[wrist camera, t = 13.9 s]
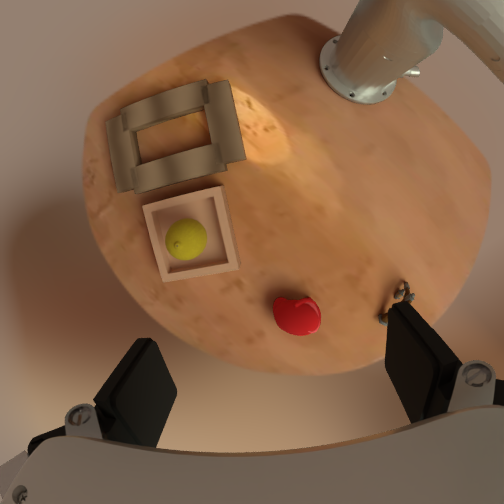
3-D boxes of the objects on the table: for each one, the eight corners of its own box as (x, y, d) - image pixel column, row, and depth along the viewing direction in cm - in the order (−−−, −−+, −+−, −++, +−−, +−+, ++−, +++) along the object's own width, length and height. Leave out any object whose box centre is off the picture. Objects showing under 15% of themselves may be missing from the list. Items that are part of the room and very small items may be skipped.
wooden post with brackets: (413, 280, 41) (418, 299, 37) (384, 308, 46) (386, 327, 42) (406, 276, 41) (411, 295, 37) (377, 304, 46) (379, 323, 42)
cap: (332, 302, 40) (305, 298, 37) (323, 340, 39) (295, 340, 36) (297, 293, 47) (270, 288, 43) (289, 327, 46) (261, 325, 43)
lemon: (212, 215, 40) (199, 224, 32) (211, 252, 41) (199, 269, 33) (176, 214, 40) (155, 222, 32) (176, 250, 41) (157, 266, 34)
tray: (223, 185, 39) (220, 185, 37) (240, 263, 42) (238, 269, 39) (150, 203, 41) (142, 205, 38) (169, 275, 44) (163, 282, 41)
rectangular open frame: (229, 79, 35) (226, 73, 33) (247, 166, 38) (246, 165, 36) (112, 118, 37) (104, 116, 35) (126, 197, 41) (119, 199, 38)
